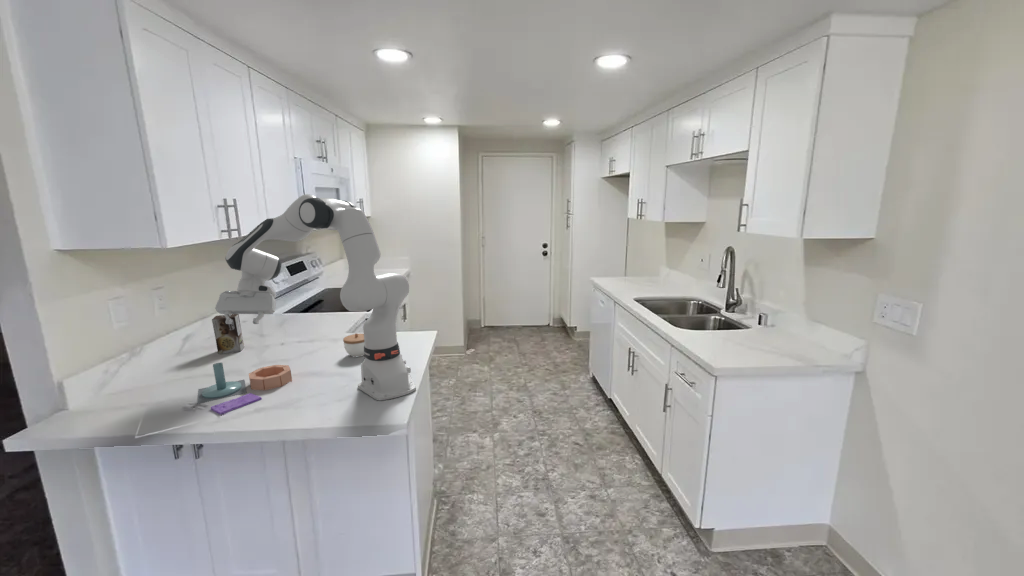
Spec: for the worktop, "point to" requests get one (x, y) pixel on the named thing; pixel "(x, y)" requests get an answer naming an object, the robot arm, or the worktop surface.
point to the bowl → (270, 377)
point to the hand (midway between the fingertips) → (241, 323)
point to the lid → (220, 384)
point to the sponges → (235, 403)
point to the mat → (203, 400)
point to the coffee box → (228, 334)
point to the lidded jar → (354, 344)
